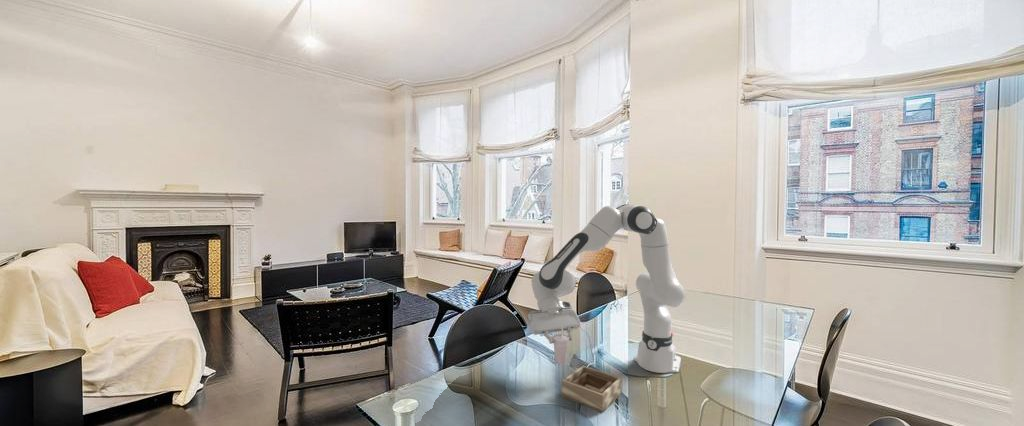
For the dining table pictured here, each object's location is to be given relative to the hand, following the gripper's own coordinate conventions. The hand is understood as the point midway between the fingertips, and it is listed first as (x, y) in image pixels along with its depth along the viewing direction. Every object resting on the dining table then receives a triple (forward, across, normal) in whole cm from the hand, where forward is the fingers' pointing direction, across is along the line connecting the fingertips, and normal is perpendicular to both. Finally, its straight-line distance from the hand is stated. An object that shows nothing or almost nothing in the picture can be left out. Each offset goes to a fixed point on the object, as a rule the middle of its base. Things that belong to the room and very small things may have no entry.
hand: (561, 341), depth 153 cm
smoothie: (+6, 0, +6) cm, 8 cm away
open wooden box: (+20, +7, +4) cm, 21 cm away
